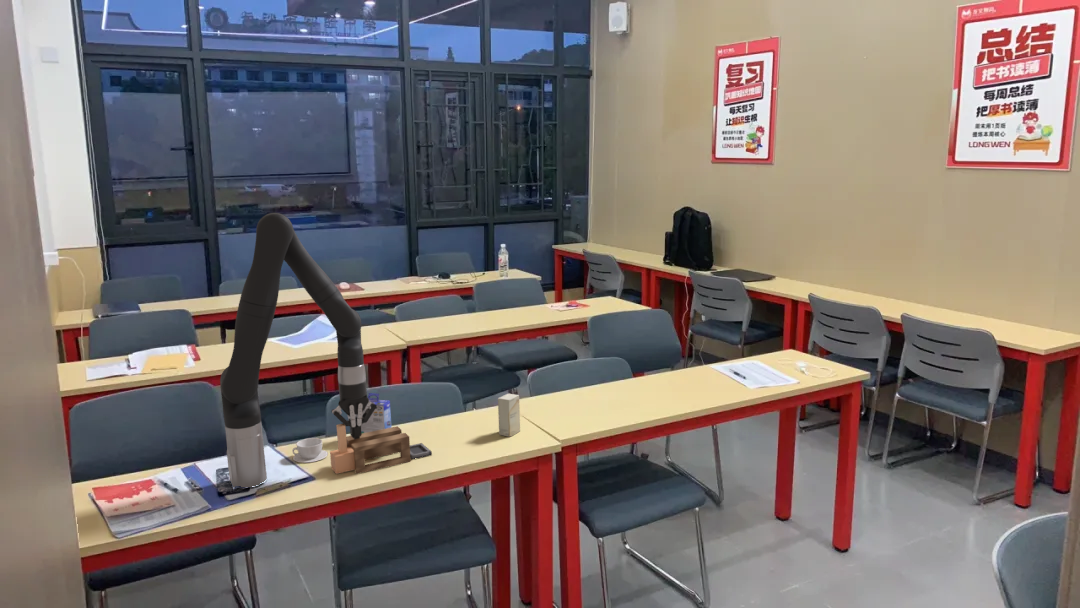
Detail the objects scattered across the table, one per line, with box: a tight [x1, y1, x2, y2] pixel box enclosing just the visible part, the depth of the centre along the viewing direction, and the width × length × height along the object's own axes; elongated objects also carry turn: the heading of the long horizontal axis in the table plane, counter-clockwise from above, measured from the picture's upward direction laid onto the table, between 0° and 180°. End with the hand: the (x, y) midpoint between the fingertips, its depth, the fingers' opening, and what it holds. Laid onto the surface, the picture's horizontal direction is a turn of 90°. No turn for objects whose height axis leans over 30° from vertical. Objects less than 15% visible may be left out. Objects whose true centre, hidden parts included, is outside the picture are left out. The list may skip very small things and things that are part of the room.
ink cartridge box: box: [361, 392, 392, 433], centre depth 240 cm, size 10×6×14 cm, turn 78°
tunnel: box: [346, 425, 412, 475], centre depth 223 cm, size 16×10×8 cm, turn 120°
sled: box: [329, 423, 355, 474], centre depth 217 cm, size 6×5×13 cm
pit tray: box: [410, 442, 433, 460], centre depth 229 cm, size 6×8×1 cm
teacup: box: [292, 437, 328, 463], centre depth 228 cm, size 10×10×5 cm
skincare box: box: [497, 393, 521, 437], centre depth 243 cm, size 6×4×12 cm
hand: (356, 437), depth 219 cm, fingers closed
